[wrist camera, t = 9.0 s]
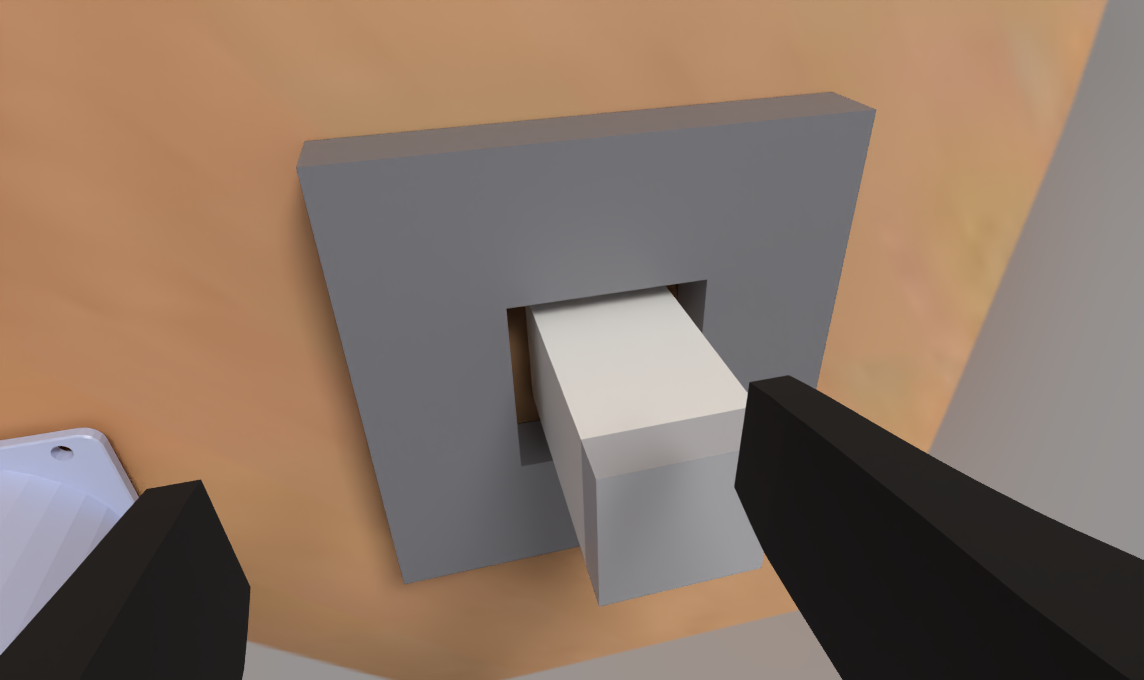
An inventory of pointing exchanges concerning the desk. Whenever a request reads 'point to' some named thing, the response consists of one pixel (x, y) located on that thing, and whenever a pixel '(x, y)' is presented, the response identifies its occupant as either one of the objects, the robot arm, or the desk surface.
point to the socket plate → (563, 281)
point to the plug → (642, 440)
